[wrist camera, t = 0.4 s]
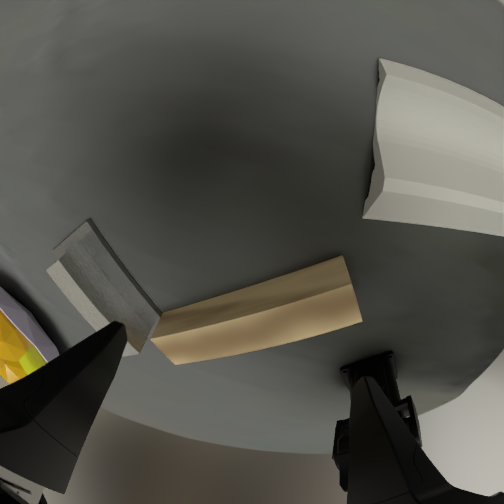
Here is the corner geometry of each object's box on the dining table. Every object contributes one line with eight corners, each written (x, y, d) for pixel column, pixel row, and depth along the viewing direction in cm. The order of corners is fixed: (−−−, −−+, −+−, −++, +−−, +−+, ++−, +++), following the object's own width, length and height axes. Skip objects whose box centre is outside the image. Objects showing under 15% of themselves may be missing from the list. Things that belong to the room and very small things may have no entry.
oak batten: (353, 289, 23) (362, 321, 19) (185, 336, 28) (174, 364, 25) (341, 253, 21) (351, 283, 17) (163, 310, 26) (150, 338, 23)
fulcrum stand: (174, 327, 27) (163, 356, 24) (128, 339, 30) (115, 364, 26) (90, 218, 21) (64, 239, 18) (53, 249, 24) (32, 270, 20)
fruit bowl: (-27, 280, 32) (-56, 313, 22) (7, 244, 25) (-46, 294, 15) (47, 375, 44) (28, 410, 35) (115, 383, 37) (92, 437, 28)
